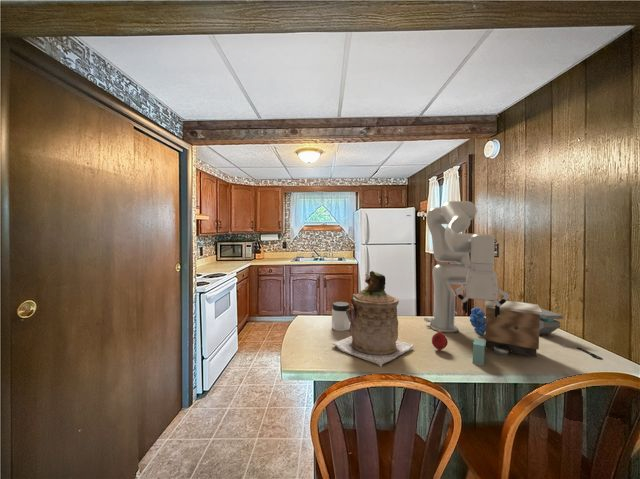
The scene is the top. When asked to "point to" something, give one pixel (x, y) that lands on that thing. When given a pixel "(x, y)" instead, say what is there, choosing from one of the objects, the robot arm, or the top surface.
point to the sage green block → (479, 351)
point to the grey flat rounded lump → (501, 350)
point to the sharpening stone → (548, 321)
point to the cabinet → (513, 326)
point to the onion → (439, 340)
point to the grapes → (478, 320)
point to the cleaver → (583, 351)
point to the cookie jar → (373, 324)
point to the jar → (340, 316)
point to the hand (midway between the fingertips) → (480, 314)
